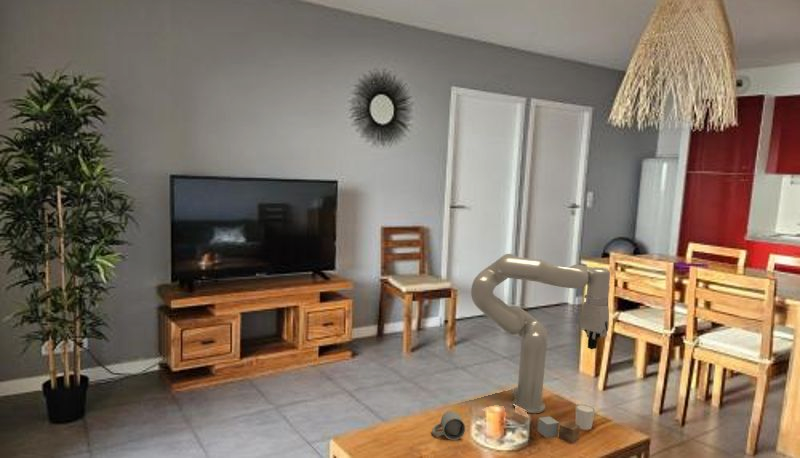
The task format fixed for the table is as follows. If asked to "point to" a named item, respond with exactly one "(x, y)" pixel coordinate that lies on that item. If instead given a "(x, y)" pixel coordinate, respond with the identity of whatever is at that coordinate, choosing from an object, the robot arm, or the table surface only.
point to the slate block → (548, 427)
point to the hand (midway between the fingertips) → (591, 348)
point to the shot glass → (584, 416)
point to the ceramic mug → (450, 426)
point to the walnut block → (569, 432)
